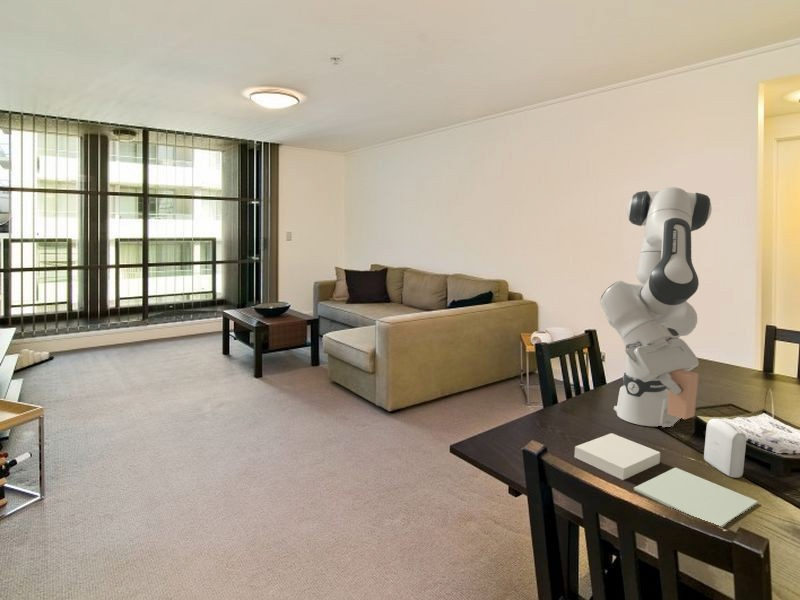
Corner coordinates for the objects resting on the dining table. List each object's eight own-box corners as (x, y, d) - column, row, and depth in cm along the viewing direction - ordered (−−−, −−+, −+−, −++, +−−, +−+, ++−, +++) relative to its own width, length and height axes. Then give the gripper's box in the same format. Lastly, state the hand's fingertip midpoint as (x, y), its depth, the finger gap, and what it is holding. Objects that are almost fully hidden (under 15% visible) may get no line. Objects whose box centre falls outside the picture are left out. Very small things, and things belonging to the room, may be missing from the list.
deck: (610, 443, 136) (611, 433, 136) (659, 463, 125) (660, 452, 124) (574, 457, 128) (574, 446, 127) (622, 480, 116) (623, 468, 116)
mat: (675, 469, 121) (675, 467, 121) (757, 503, 106) (757, 501, 106) (633, 489, 112) (633, 487, 112) (717, 530, 97) (718, 527, 97)
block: (676, 410, 112) (680, 369, 111) (694, 416, 109) (698, 373, 108) (667, 413, 110) (671, 371, 109) (684, 419, 107) (689, 376, 106)
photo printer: (700, 458, 127) (704, 414, 125) (716, 458, 127) (720, 414, 125) (728, 478, 117) (734, 430, 115) (745, 478, 117) (751, 430, 115)
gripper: (631, 337, 108) (671, 391, 101) (681, 329, 118) (720, 377, 111) (612, 352, 112) (649, 405, 105) (661, 343, 123) (698, 390, 116)
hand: (686, 391), depth 108 cm, fingers closed on block, 4 cm apart
